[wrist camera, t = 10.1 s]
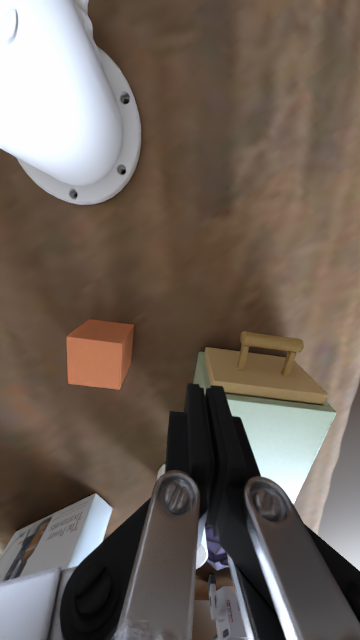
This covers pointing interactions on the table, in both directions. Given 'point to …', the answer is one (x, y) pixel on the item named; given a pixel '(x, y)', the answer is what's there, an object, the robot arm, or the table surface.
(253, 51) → the table surface
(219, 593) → the figurine
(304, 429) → the cabinet
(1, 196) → the table surface
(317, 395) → the drawer
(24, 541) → the skincare box
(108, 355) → the plain salmon cube
